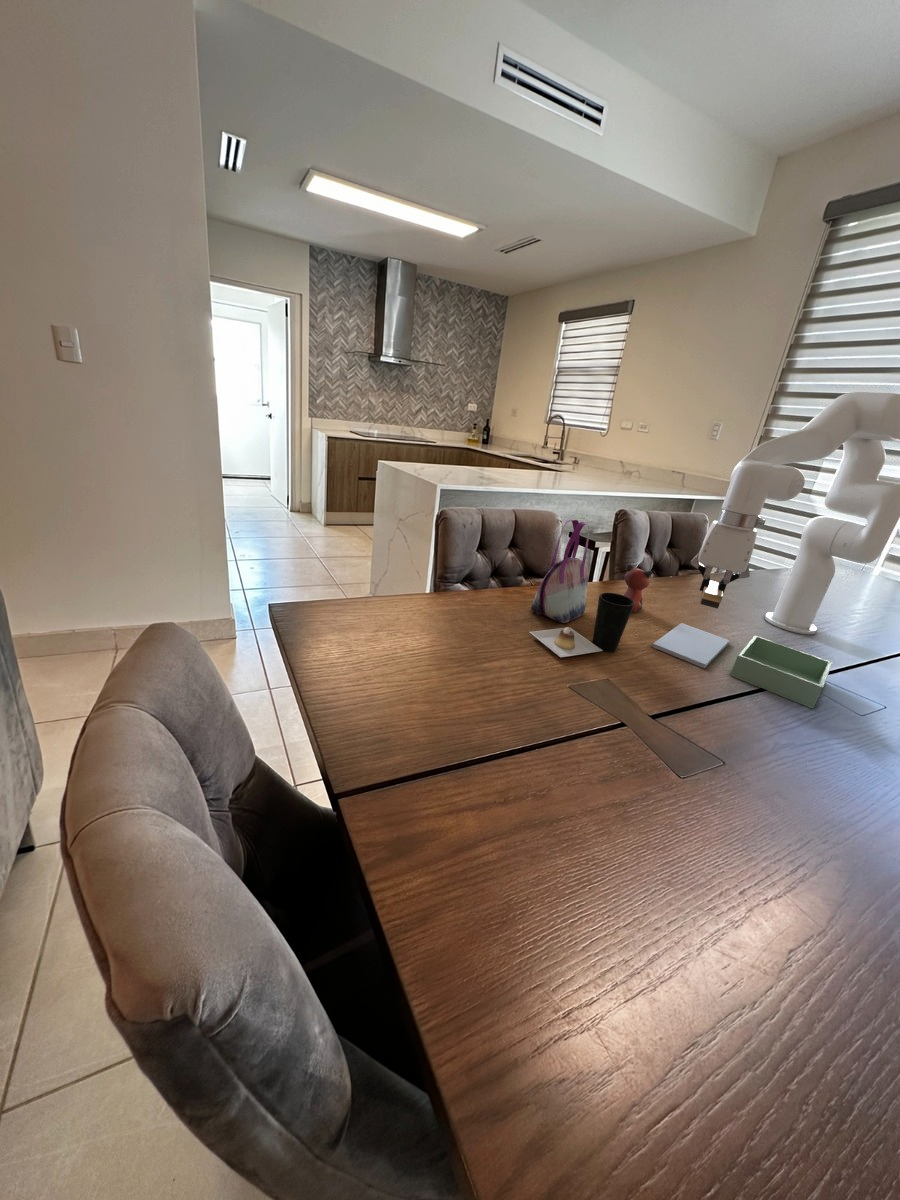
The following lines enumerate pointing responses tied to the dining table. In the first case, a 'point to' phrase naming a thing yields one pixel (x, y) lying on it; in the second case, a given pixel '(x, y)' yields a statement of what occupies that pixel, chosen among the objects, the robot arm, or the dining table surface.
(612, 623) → the cup
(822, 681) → the basket
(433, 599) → the dining table surface
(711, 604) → the brush
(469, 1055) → the dining table surface
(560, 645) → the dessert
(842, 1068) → the dining table surface
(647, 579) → the stuffed fox
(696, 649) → the mat
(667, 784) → the dining table surface
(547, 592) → the handbag
